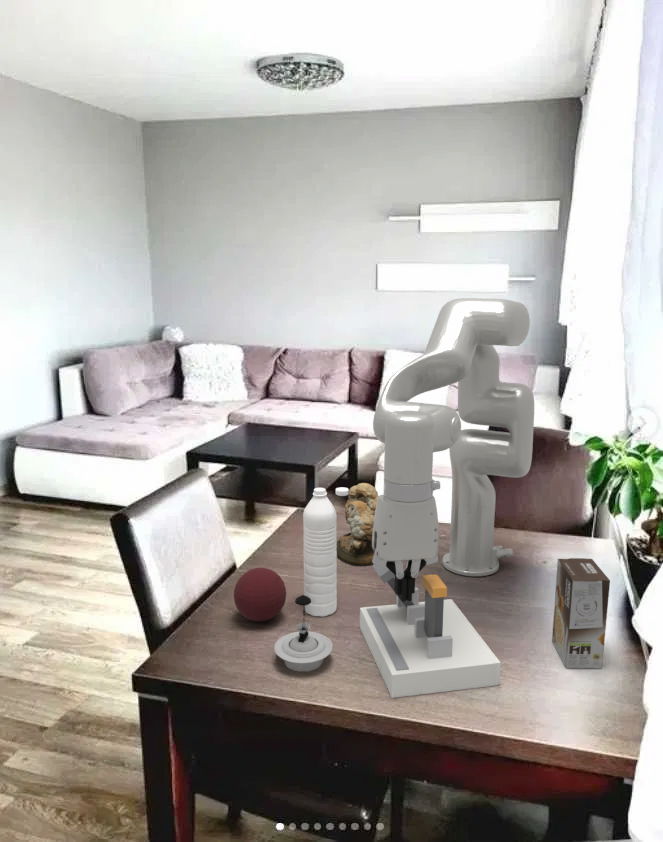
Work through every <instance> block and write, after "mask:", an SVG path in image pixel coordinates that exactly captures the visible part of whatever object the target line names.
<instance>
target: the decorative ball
mask: <svg viewBox="0 0 663 842" xmlns="http://www.w3.org/2000/svg"><path fill="white" fill-rule="evenodd" d="M286 588H287V587H286V585H285V583H284V581H283V579H282V577H281V576H280V575H279V574H278V573H277V572H275V571H274V570H272V569H270V568H265V567H255V568H252V569H249V570H247V571H246V572H244V573H243V574H242V575H240V577H239V579H238V580H237V582H236V584H235V586H234V590H233V601H234V604H235V607H236V609H237V611H239V613H240V614H241V615H242V616H243V617H245V619H248V620H250V621H252V622H266V621H269V620H271V619H272V618H275V617H276V616H277V615H278V614H280V612H281V611H282V609H283V607H284V606H285V603H286V600H287V589H286Z"/></svg>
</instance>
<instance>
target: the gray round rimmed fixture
mask: <svg viewBox="0 0 663 842" xmlns="http://www.w3.org/2000/svg"><path fill="white" fill-rule="evenodd" d="M294 603H295V604H296V605H298V606H303V607H302V608H303V609H302V613H303V614H302V615H303V619H302V621H303V622H300V623H298V624H296V626H295V628H296V629H297V630H298V631H294V632H290V633H288V634H285V635H283V636H281V637H280V638H278V640H277V641H275V643H274V652H275V655H277V656H278V658H280V659H282V660H283V661H284V665H285V666H286V667H287V668H288V669H290V670H292V671H296V672H300V671H306V672H311V670H312V671H314V670H317V669H318V668H320V667H321V665H322V664H323V662H324V659H325V658H327V657H328V656H329V655H330V654H331V653H332V651H333V649H334V648H333V647H334V646H333V645H334V644H333V643H332V640H331V639H330V638H328V636H325V635H324V634H321V633H319V632H315V631H309V630H310V629H311V627H312V626H311V623H307V622H305V620H306V618H305V617H306V612H305V609H304V605H308V604H310V603H311V599H310V598H309V597H307V596H304V594H302V595H299V596H297V597H296V598H295V600H294Z"/></svg>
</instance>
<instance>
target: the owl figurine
mask: <svg viewBox="0 0 663 842" xmlns="http://www.w3.org/2000/svg"><path fill="white" fill-rule="evenodd" d="M379 496H380V495H379V493H378V491H377V489H376V487H375V486H373V485H371V483H367V482H361V483H358V484H357V485H353V486H351V487H350V488H349V494H348V499H347V500H346V503H345V504H344V505H345V507H344V514H345V515H344V518H345V521H346V524H349V528H350V532H348V533H345V534H344V535H342V536H340V537H339V538H338V540H336V541H337V544H336V545H337V548H336V550H337V559H339V560H340V561H341V562H343V563H345V564H349V565H350V564H351V565H350V566H354V565H355V566H354V567H357V566H359V567H369V566H373V565H374V564H373V562H372V560H373V556H374V552H375V551H374V550H373V548H372V535H373V525H374V516H375V510H376V505H377V500H378V497H379Z"/></svg>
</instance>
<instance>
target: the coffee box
mask: <svg viewBox="0 0 663 842" xmlns="http://www.w3.org/2000/svg"><path fill="white" fill-rule="evenodd" d="M555 577H556V579H555V580H556V581H555V590H554V591H555V596H554V607H553V611H554V612H553V623H552V638H551V642H552V644H553V645H554V648H555V650H556V652H557V654H558V655H559V657H560V659H561V661H562V662H563V665H564V666H565V668H566V669H599V670H601V669H603V660H604V652H605V651H604V649H605V637H606V629H607V619H608V618H607V617H608V607H609V597H610V596H609V594H610V585H611V584H610V583H611V580H610V578H609V577H608V576H607V575H606V573H604V571H603V570H602V569H601V568H600V567H599V565H598V564H597V563H596V562H595V560H594V559H592V558H583V557H582V558H579V557H578V558H576V557H571V558H557V565H556V576H555Z"/></svg>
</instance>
